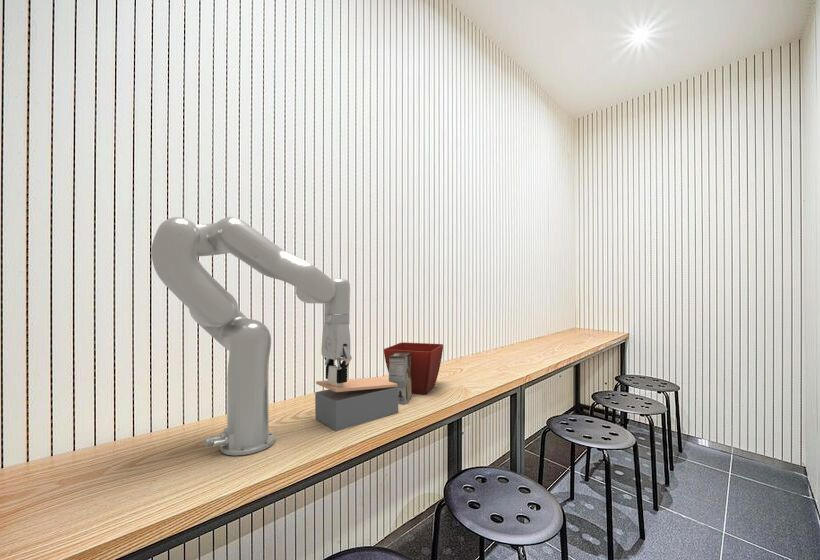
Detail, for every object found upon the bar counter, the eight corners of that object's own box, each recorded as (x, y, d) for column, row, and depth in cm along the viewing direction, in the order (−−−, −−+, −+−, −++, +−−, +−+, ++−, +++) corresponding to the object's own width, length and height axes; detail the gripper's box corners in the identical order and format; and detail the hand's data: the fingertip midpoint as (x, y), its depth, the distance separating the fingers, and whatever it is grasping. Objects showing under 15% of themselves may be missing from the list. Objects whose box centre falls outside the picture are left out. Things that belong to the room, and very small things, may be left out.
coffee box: (395, 395, 130) (394, 352, 131) (412, 396, 129) (411, 352, 129) (388, 403, 121) (388, 356, 122) (406, 404, 120) (406, 356, 120)
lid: (335, 392, 98) (337, 370, 99) (316, 383, 107) (317, 364, 108) (397, 386, 112) (398, 368, 113) (375, 379, 122) (376, 362, 122)
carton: (336, 431, 97) (336, 401, 98) (315, 418, 107) (315, 392, 108) (398, 412, 112) (398, 387, 112) (374, 403, 121) (374, 379, 122)
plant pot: (431, 398, 127) (430, 351, 127) (383, 393, 133) (382, 349, 134) (444, 385, 144) (444, 343, 145) (401, 381, 151) (400, 342, 152)
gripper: (312, 319, 110) (311, 377, 109) (340, 322, 97) (339, 388, 96) (334, 318, 115) (333, 374, 114) (363, 320, 102) (362, 384, 101)
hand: (336, 380), depth 105 cm, fingers closed on lid, 6 cm apart
